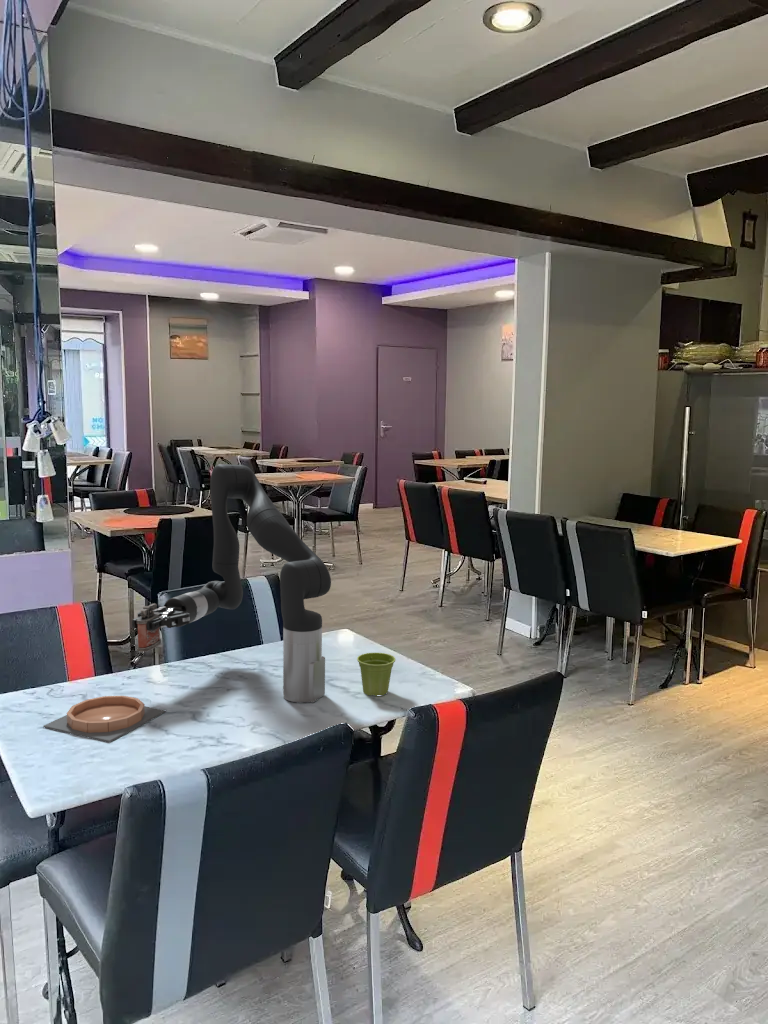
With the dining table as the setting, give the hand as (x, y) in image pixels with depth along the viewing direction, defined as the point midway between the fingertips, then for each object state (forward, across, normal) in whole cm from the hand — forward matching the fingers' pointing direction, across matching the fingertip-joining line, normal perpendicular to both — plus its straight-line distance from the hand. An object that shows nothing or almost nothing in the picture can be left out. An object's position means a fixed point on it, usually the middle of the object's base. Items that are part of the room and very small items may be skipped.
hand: (140, 625), depth 180 cm
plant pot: (-27, +49, +18) cm, 59 cm away
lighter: (-3, 0, +6) cm, 7 cm away
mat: (+14, +2, +18) cm, 23 cm away
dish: (+14, +2, +18) cm, 23 cm away
